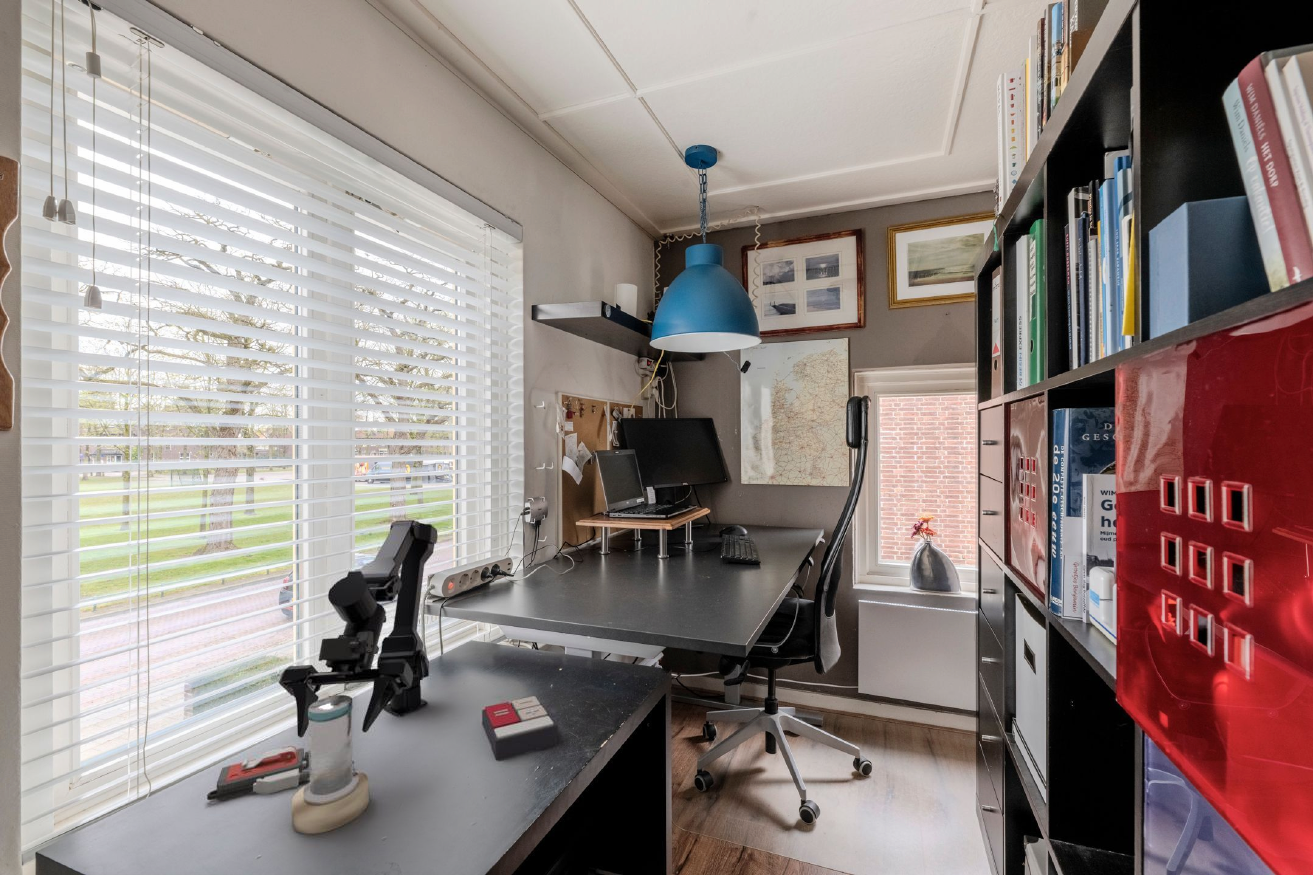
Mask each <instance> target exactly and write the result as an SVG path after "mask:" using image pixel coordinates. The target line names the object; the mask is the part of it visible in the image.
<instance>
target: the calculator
mask: <svg viewBox="0 0 1313 875" xmlns="http://www.w3.org/2000/svg"><path fill="white" fill-rule="evenodd" d="M481 718H482V719H481V720H482V726H483V731H484V732H485V735H486V737H487V739H488V741H489V742H488V743H489V744H490V747H491V751H492V754H493V756H494V759H495V761H501V760H505V759H509V758H512V757H516V756H521V755H523V754H527V753H530V752H534V751H535V752H536V751H538V750H541V749H542V750H543V749H546V748H550V747H553V746H557V744H558V731H557V730H558V729H557V728H558V725H557V723H556V722H555V721H554V720H553V718H552V716H551V715H550V714H549V713H548V711H547V710H546V709H545V707H544V706H543V704H542V703H541V702H540V700H539V699H538V698H537V697H536V696H535V695H533V696H528V697H523V698H520V699H515V700H512V701H511V703H510V702H509V701H506V702H501V703H497V704H492V705H488V706H485V707H484V709H482V710H481Z"/></svg>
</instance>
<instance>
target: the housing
mask: <svg viewBox="0 0 1313 875" xmlns="http://www.w3.org/2000/svg"><path fill="white" fill-rule="evenodd" d="M353 708H354V707H353V697H351V696H349V695H345V694H342V695H341V694H340V695H339V694H337V695H331V696H327V697H324V698H321V699H318V701H316V702H314V703H313V704H311V705H310V706H309V708H308V719H309V725H308V752H309V764H308V766H309V771H310V778H309V782H308V783H307V784H306V785H305V786H306V787H305V788H304V791H303V799H304V802H305V803H306V804H308V805H313V806H320V805H327V804H331V803H334V802H337V801H339V800H341V799H343V798H345V797H347V796H348V795H350V794H351V793H353V792H354V791H355V790H356V788H357V787H358V785H359V775H358V773H357V772H356V771H357V770H354V769H353V765H354V764H353V761H354V760H353V759H354V758H353V715H352V714H353Z"/></svg>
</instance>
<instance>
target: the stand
mask: <svg viewBox="0 0 1313 875" xmlns="http://www.w3.org/2000/svg"><path fill="white" fill-rule="evenodd" d="M355 771H356V772H357V773H358V775H359V785H358V787H357V788H356V790H355V791H354V792H353V793H351V794H350V795H348V796H347V797H345V798H343V799H341V800H339V801H337V802H334V803H331V804H327V805H320V806H313V805H308V804H306V803H305V802H304V799H303V791H304V788H305V787H306V785H304V786H302V788H300V789H299V790H298V791H297V792H296V793H295V795H293V797H292V800H291V825H292V829H294V831H296V832H297V833H301V834H305V835H306V834H307V835H314V834H322V833H325V832H329V831H333V830H335V829H336V830H337V829H339V828H340V827H342V826H345V825H347V824H349V823H351V822H352V821H354V820H355V819H357V818H358V817H359V816H361V815H362V813H363V812H364V811H365V810H366V809H367V807H368V805H369V803H370V781H369V777H368V775H367V774H366V773H364V772H362V771H357V770H355Z"/></svg>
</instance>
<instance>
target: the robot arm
mask: <svg viewBox="0 0 1313 875" xmlns="http://www.w3.org/2000/svg"><path fill="white" fill-rule="evenodd" d="M437 542H438V530H437V528H435V526H433V525H432V523H422V522H419V521H418V520H415V519H409V520H408V519H407V520H396V521H393V522H391V524H390V528H389V533H388V534H387V536H386V539H385V540H384V542H383V543H382V545H381V547H380V549H379V551H378V553H377V554H376V555H375V558H374V559H373V560H371V561H370V562H368V563H366V564H364V565H363V566H362V567H361V568H360V569H359V570H349V571H348V572H347V575H346V577H343V578H341V579H339V580H338V581H336V582H335V583H334V584H333V586H332V587H331V588H329V591H328V595H327V598H328V601H329V603H330V604H331V605H332V607H333V609H334V610H335V612H336V613H337V614H338V616H339V617H340V619H341V620H342V621H343V622H345V623H346V624H345V626H344V630H343V633H342V634H338V637H332V638H331V637H330V638H329V637H328V638H322V639H321V644H320V650H319V656H318V661H319V662H323V661H326V662H325V666H326V667H327V668H331V670H330V671H320V672H319V670H317V669H316V668H315V666H314V665H312V664H304V665H290V666H288V667H286V668H285V669H284V671H282V673H281V676H280V678H279V680H278V684H279V685H280V686H281V687H282V688H283V689H284V690H285V691H287V693H288V694H289V695H290V696H293V697H294V698H295V703H296V704H295V705H296V720H297V721H296V722H297V729H296V730H297V736H298V738H300V739H301V738H303V737H304V736H305V734H306V732H307V729H309V719H308V708H309V706H310V705H311V704H313V703H314V702H316V701H318V700H319V698H320V697H319V695H318V694H317V693H318V692H319V691H320V690H321V687H322V686H325V685H328V686H329V685H344V684H356V683H360V684H361V683H372V682H373V688H372V694H371V697H370V700H369V702H368V706H367V710H366V711H365V712H366V713H365V716H364V719H363V722H362V728H361V732H363V733H367V732H368V731H369V730H370V728H371V727H372V725H373V724H374V722H375V721H376V719H377V718H378V717H379V716H380V714H381V713H382V711H383V710H385V711H387V712H389V713H391V714H393V715H395V716H398V717H402V716H404V715H406V714H408V713H410V712H412V711H413V712H414V711H415V710H417V709H419V708H422V707H424V706H426V705H428V701H427V700H425V699H423V698H422V687H421V681H423V680H424V679H425V678H427V677H428V678H429V676H430V660H429V658H428V657H427V654H426V652H425V651H424V642H423V641H422V638H421V637H420V634H419V633H418V621H419V615H420V606H421V598H422V597H421V596H422V588H423V580H424V570H425V564H426V563H427V562H428V561H429V559H430V558H431V556H432V555H433V554H434V549H435V545H436V544H437ZM400 569H401V570H400ZM399 570H400V574H399ZM399 575H400V576H399ZM396 597H397V599H396ZM395 599H396V606H395V613H394V614H395V615H394V622H393V628H392V630H391V632H390V633H389V635H388V636H385V637H383V639H382V641H381V650H380V647H379V645H378V644H379V640H380V636H381V632H382V629H383V625H384V624H385V623H386V622H387V616H386V614H387V611H386V609H385V607H384V606H383V605H382V604H380V603H383V602H385V603H387V602H393V601H394V600H395ZM379 651H380V653H379ZM378 653H379V654H378ZM375 655H378V657H377V660H376V661H377V662H376V667H377V668H372V665H373V662H374V658H375Z"/></svg>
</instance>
